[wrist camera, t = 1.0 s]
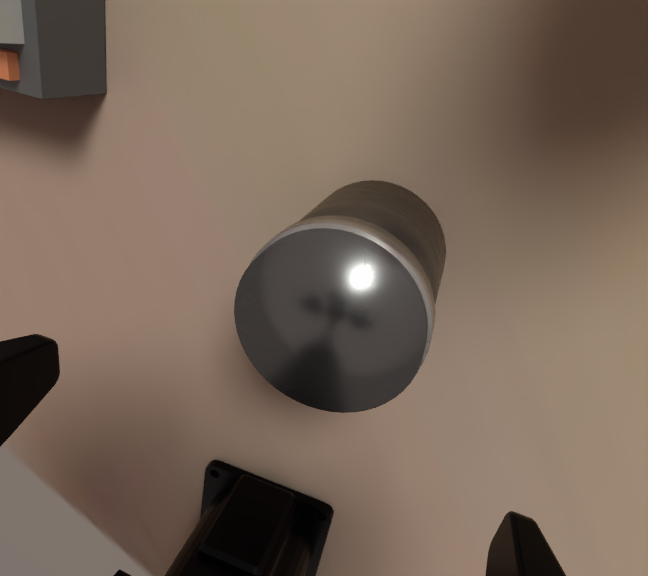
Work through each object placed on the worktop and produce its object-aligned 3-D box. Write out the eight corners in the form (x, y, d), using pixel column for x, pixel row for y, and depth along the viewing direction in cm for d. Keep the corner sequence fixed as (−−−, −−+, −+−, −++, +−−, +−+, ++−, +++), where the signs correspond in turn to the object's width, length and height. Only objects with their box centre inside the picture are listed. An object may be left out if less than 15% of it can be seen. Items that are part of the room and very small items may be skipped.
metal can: (424, 333, 19) (397, 441, 13) (294, 292, 19) (222, 377, 14) (469, 200, 16) (458, 269, 11) (318, 160, 17) (242, 206, 12)
